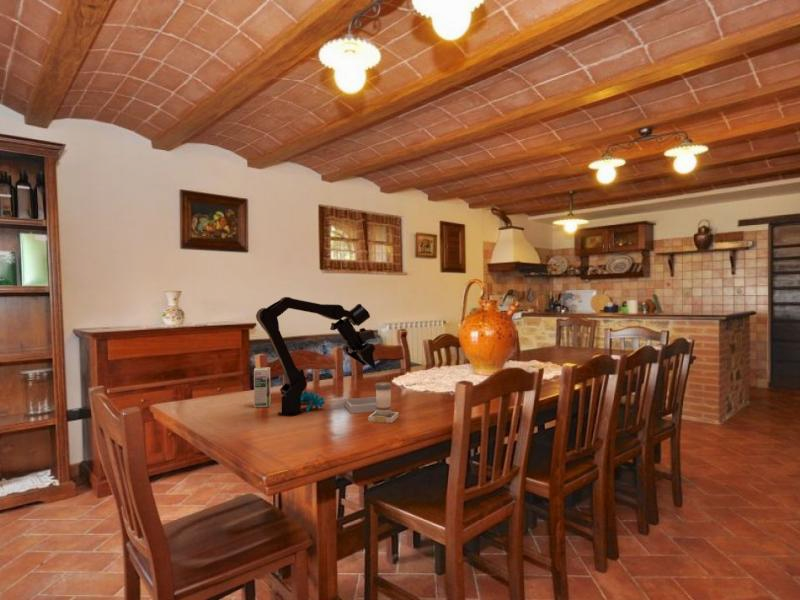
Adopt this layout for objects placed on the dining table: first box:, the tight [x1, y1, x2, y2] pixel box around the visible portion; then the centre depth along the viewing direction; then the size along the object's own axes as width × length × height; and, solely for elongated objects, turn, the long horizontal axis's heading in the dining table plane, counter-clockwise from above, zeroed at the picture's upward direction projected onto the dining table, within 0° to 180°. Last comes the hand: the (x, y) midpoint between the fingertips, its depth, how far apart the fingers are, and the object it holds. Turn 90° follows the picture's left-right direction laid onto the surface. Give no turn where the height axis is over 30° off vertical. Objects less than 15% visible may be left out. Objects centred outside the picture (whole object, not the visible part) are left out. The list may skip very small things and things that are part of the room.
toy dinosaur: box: [300, 390, 325, 413], centre depth 171 cm, size 11×6×10 cm
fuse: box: [375, 381, 392, 418], centre depth 158 cm, size 5×5×12 cm
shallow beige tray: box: [367, 409, 399, 424], centre depth 158 cm, size 8×10×2 cm
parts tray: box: [343, 396, 376, 414], centre depth 174 cm, size 13×13×2 cm
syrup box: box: [253, 366, 271, 409], centre depth 179 cm, size 6×6×14 cm
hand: (369, 366), depth 181 cm, fingers open, 9 cm apart
